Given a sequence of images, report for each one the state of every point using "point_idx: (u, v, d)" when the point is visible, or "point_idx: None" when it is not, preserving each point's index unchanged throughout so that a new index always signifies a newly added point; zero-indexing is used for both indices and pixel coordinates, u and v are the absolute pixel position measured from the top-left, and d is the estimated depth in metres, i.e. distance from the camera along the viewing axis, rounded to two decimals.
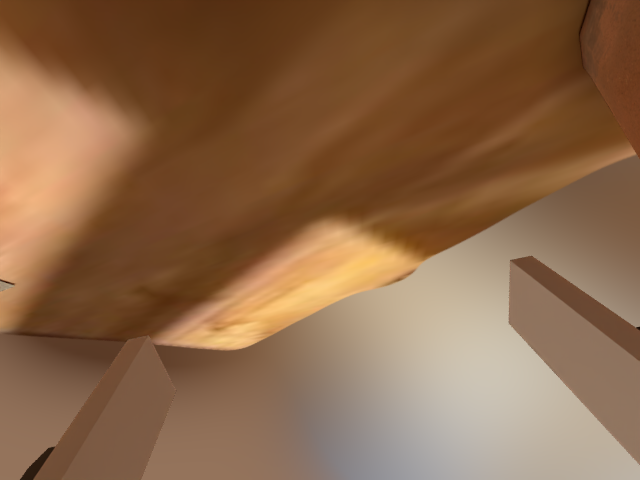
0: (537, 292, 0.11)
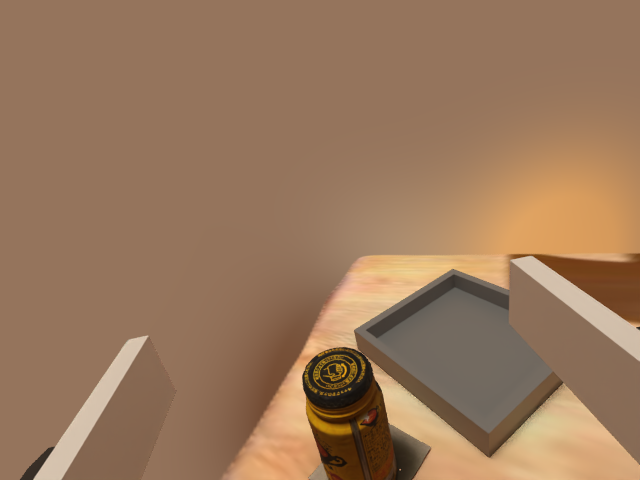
0: (537, 292, 0.11)
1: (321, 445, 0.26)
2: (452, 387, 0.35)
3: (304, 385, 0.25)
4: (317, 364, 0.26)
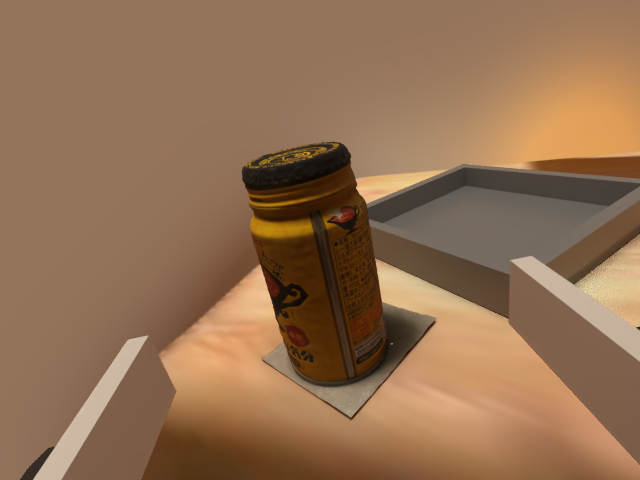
0: (537, 292, 0.11)
1: (270, 273, 0.17)
2: None
3: (243, 170, 0.16)
4: (268, 157, 0.17)
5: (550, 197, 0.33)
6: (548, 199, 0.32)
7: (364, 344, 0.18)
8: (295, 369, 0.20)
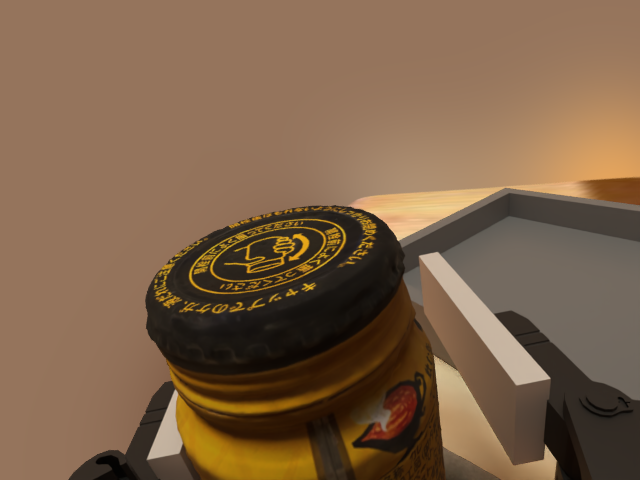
0: (433, 283, 0.12)
1: None
2: None
3: (148, 292, 0.07)
4: (219, 242, 0.08)
5: None
6: None
7: None
8: None
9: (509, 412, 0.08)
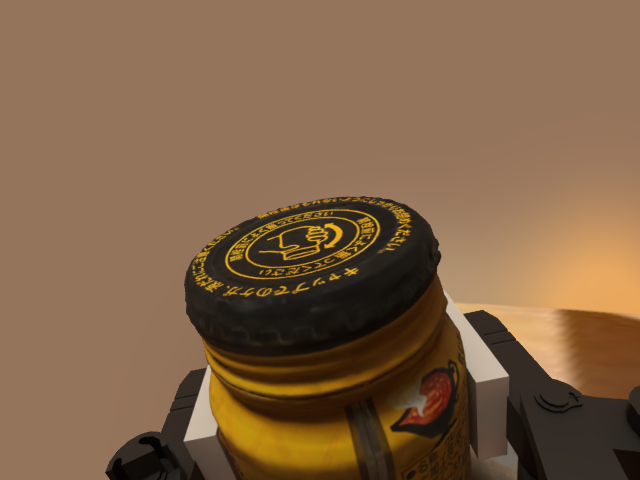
0: None
1: None
2: None
3: (186, 278, 0.07)
4: (250, 231, 0.08)
5: None
6: None
7: None
8: None
9: (472, 409, 0.08)
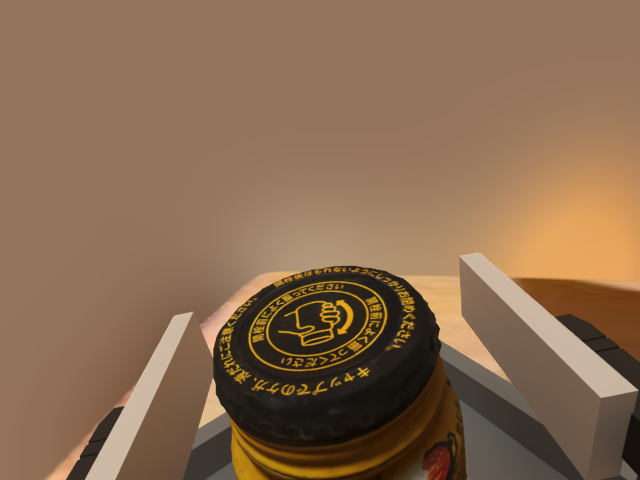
0: (479, 285, 0.12)
1: None
2: None
3: (214, 359, 0.08)
4: (268, 303, 0.09)
5: (544, 461, 0.15)
6: (539, 470, 0.15)
7: None
8: None
9: (585, 425, 0.08)
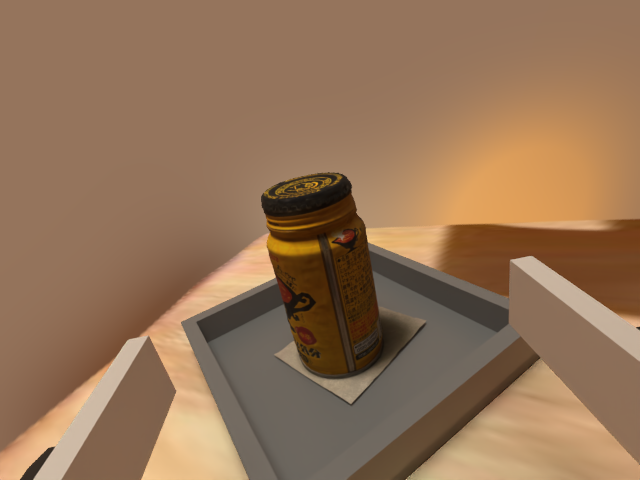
0: (537, 292, 0.11)
1: (284, 283, 0.20)
2: (287, 420, 0.20)
3: (262, 199, 0.19)
4: (282, 185, 0.21)
5: (435, 301, 0.27)
6: (431, 305, 0.27)
7: (363, 343, 0.21)
8: (303, 364, 0.23)
9: None
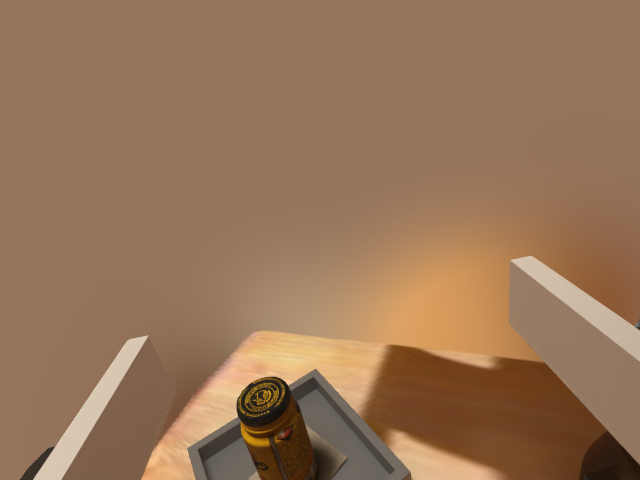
0: (537, 292, 0.11)
1: (250, 453, 0.33)
2: None
3: (237, 407, 0.33)
4: (250, 390, 0.34)
5: (357, 437, 0.40)
6: (355, 440, 0.40)
7: None
8: None
9: None
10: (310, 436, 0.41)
